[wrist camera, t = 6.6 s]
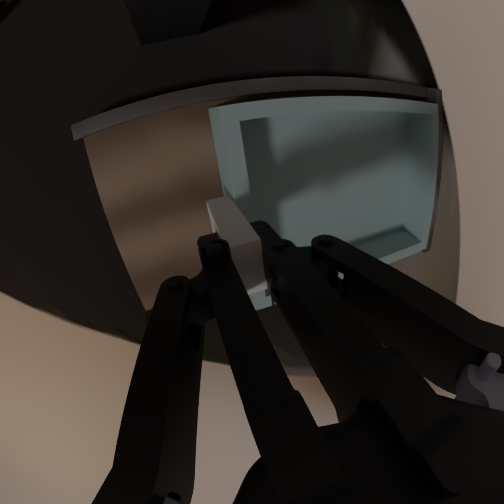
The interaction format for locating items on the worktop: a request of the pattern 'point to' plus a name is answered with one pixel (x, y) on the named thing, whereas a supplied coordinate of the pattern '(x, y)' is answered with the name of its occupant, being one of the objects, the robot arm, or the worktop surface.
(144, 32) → the dark grey block
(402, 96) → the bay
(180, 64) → the worktop surface
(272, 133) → the crate
